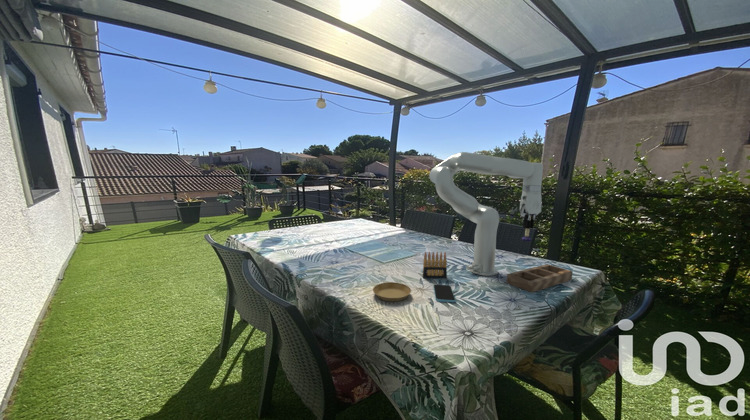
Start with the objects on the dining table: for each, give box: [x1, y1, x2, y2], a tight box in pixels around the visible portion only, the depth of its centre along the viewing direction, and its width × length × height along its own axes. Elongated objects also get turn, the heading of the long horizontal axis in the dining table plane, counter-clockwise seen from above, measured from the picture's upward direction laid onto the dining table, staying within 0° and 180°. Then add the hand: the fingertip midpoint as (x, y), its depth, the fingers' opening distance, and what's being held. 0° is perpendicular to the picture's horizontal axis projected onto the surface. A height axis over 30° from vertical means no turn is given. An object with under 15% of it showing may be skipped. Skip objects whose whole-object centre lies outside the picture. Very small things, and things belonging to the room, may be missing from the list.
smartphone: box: [432, 284, 457, 303], centre depth 107 cm, size 7×1×15 cm
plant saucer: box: [372, 281, 412, 303], centre depth 105 cm, size 15×15×3 cm
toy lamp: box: [521, 212, 535, 242], centre depth 129 cm, size 5×5×17 cm
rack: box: [506, 263, 573, 293], centre depth 119 cm, size 29×11×4 cm, turn 118°
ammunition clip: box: [422, 251, 448, 279], centre depth 123 cm, size 11×2×12 cm, turn 88°
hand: (528, 227), depth 129 cm, fingers closed on toy lamp
